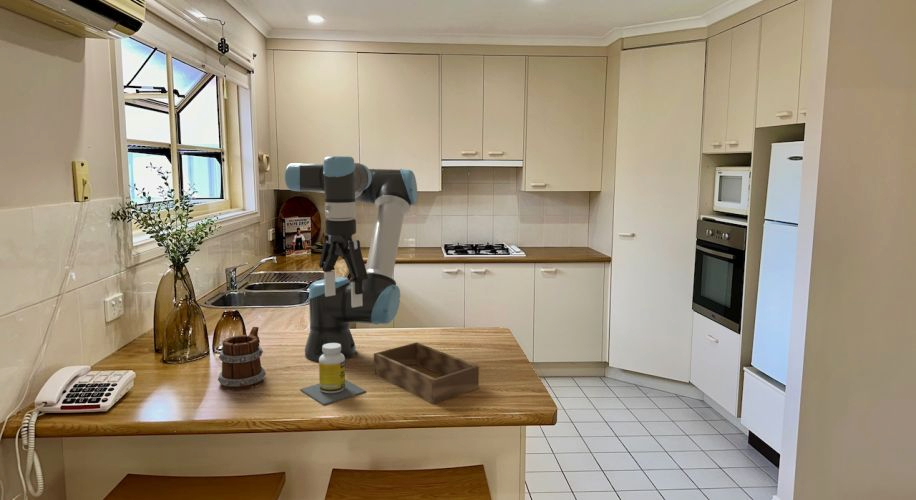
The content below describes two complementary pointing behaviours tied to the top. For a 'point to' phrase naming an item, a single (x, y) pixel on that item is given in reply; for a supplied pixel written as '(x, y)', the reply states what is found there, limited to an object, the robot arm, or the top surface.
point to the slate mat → (332, 397)
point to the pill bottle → (332, 369)
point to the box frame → (434, 390)
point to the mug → (241, 362)
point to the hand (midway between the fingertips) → (343, 300)
